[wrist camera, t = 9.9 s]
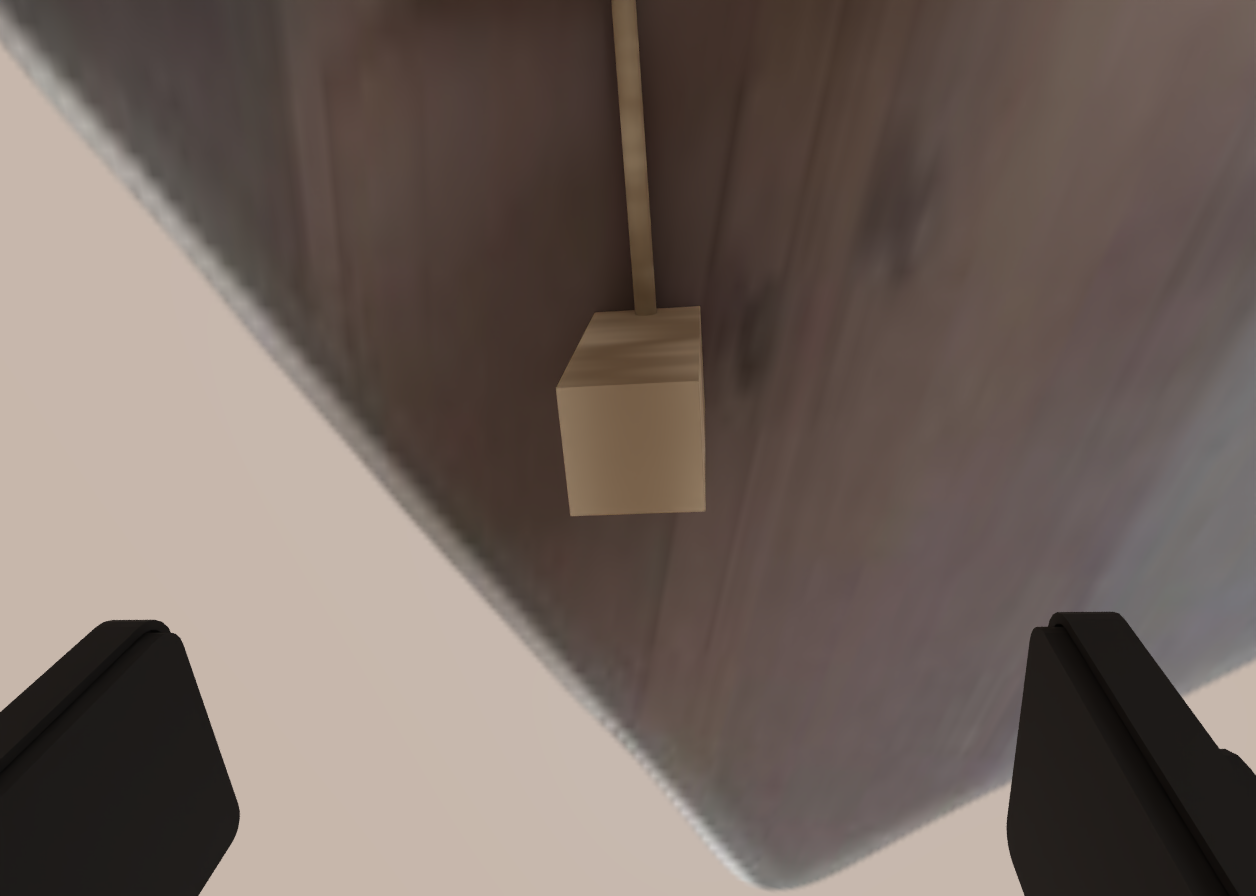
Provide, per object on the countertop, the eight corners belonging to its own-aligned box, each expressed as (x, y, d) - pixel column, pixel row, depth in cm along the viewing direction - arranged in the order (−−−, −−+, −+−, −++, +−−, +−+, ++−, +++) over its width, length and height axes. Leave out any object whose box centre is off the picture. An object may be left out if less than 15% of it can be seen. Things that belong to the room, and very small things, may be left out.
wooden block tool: (711, -442, 18) (715, -741, 12) (739, 404, 25) (751, 509, 19) (481, -408, 19) (364, -675, 12) (570, 412, 26) (526, 517, 19)
